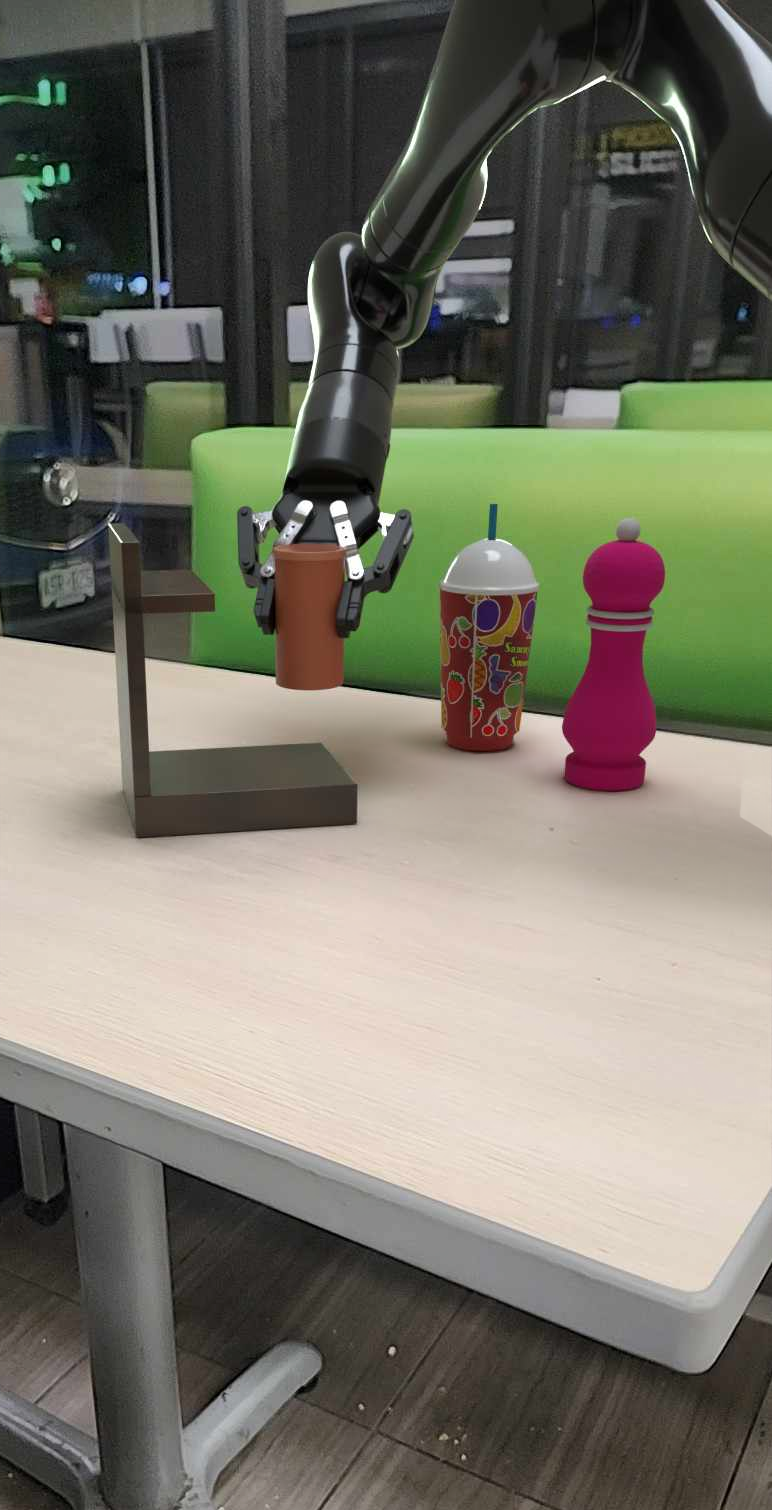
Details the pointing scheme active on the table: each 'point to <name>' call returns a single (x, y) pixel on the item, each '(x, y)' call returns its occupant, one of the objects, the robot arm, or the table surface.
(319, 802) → the stand
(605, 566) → the pepper mill
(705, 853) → the table surface
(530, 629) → the smoothie
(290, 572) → the tumbler
